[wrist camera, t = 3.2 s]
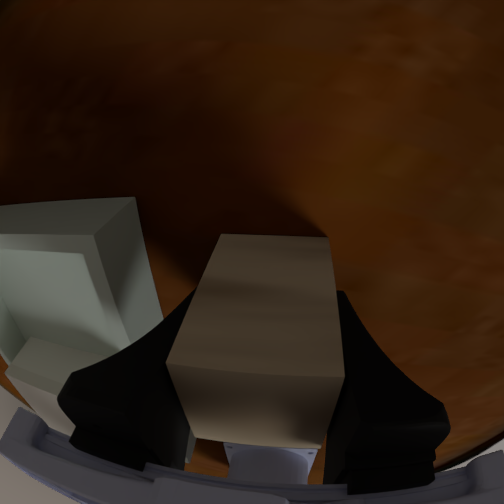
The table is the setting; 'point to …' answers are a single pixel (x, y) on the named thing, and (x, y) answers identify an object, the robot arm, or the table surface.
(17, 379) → the light gray block
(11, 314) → the pale green tray
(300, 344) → the maple block
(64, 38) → the table surface
